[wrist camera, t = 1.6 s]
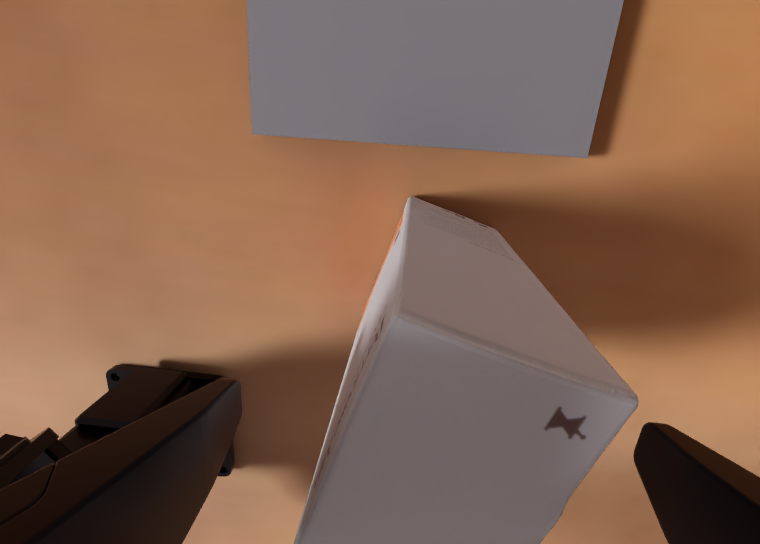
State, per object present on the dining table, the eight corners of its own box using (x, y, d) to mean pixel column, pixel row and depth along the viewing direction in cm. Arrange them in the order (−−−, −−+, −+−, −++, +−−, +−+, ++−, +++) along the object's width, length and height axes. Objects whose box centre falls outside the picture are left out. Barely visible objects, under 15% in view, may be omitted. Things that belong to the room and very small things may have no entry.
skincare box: (407, 192, 17) (395, 299, 6) (497, 227, 17) (661, 401, 6) (360, 310, 19) (281, 564, 8) (441, 341, 19) (482, 633, 8)
